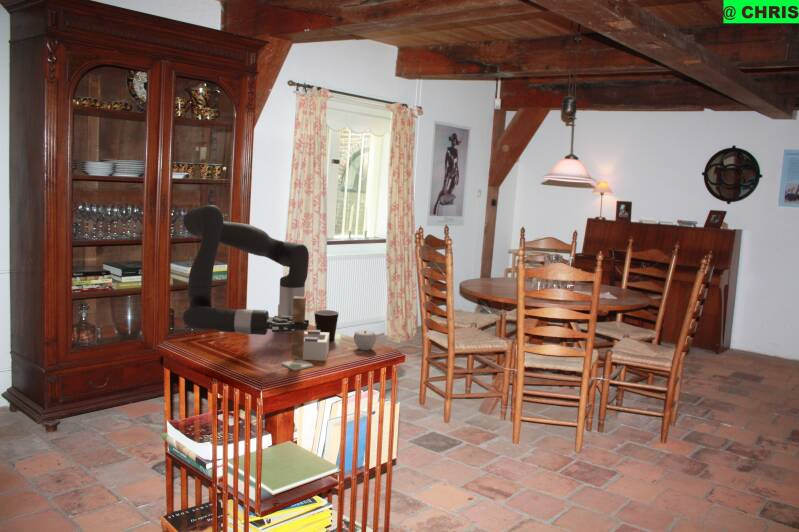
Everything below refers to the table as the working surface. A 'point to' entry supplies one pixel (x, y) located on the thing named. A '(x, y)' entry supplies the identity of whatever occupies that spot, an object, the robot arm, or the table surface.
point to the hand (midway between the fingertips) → (307, 324)
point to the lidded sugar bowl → (364, 339)
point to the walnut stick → (298, 335)
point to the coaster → (297, 364)
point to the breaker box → (315, 345)
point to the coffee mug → (326, 322)
